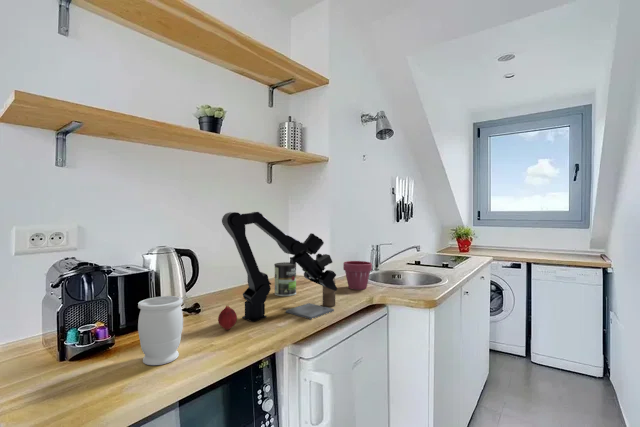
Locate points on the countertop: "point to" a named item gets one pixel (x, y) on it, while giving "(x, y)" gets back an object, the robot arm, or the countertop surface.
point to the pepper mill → (328, 297)
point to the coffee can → (285, 279)
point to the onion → (227, 318)
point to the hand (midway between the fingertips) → (331, 288)
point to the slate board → (309, 310)
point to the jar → (160, 328)
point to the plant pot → (357, 274)
